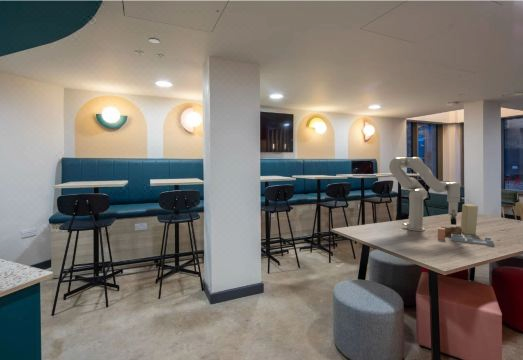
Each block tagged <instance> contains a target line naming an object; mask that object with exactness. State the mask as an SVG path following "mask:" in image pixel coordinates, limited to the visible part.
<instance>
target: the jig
mask: <svg viewBox="0 0 523 360" xmlns="http://www.w3.org/2000/svg"><path fill="white" fill-rule="evenodd" d="M465 235H466V236H465ZM465 235H464V234H461V235H456V234H451V236H450V241H452V242H453V241H454V242H461V243H469V244H475V245H477V244H478V245H483V246H491V247H494V246H495V243H494V239H493V238H492V237H487V236H485V237H484V239H480V238H474V237H473V235H472V234H465Z"/></svg>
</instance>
